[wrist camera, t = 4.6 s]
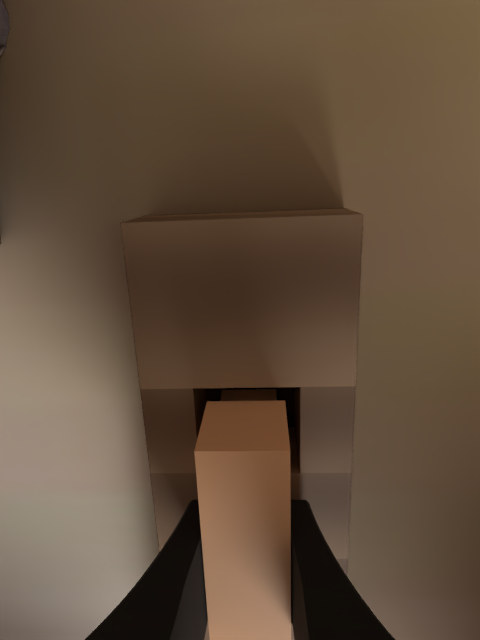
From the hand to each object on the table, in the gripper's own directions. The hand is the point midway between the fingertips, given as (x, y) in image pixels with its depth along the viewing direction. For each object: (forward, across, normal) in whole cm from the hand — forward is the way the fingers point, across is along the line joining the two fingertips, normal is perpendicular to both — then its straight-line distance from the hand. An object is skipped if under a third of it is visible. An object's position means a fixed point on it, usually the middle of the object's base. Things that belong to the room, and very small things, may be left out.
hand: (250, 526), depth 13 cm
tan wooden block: (+3, 0, 0) cm, 3 cm away
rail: (+3, 0, 0) cm, 3 cm away
